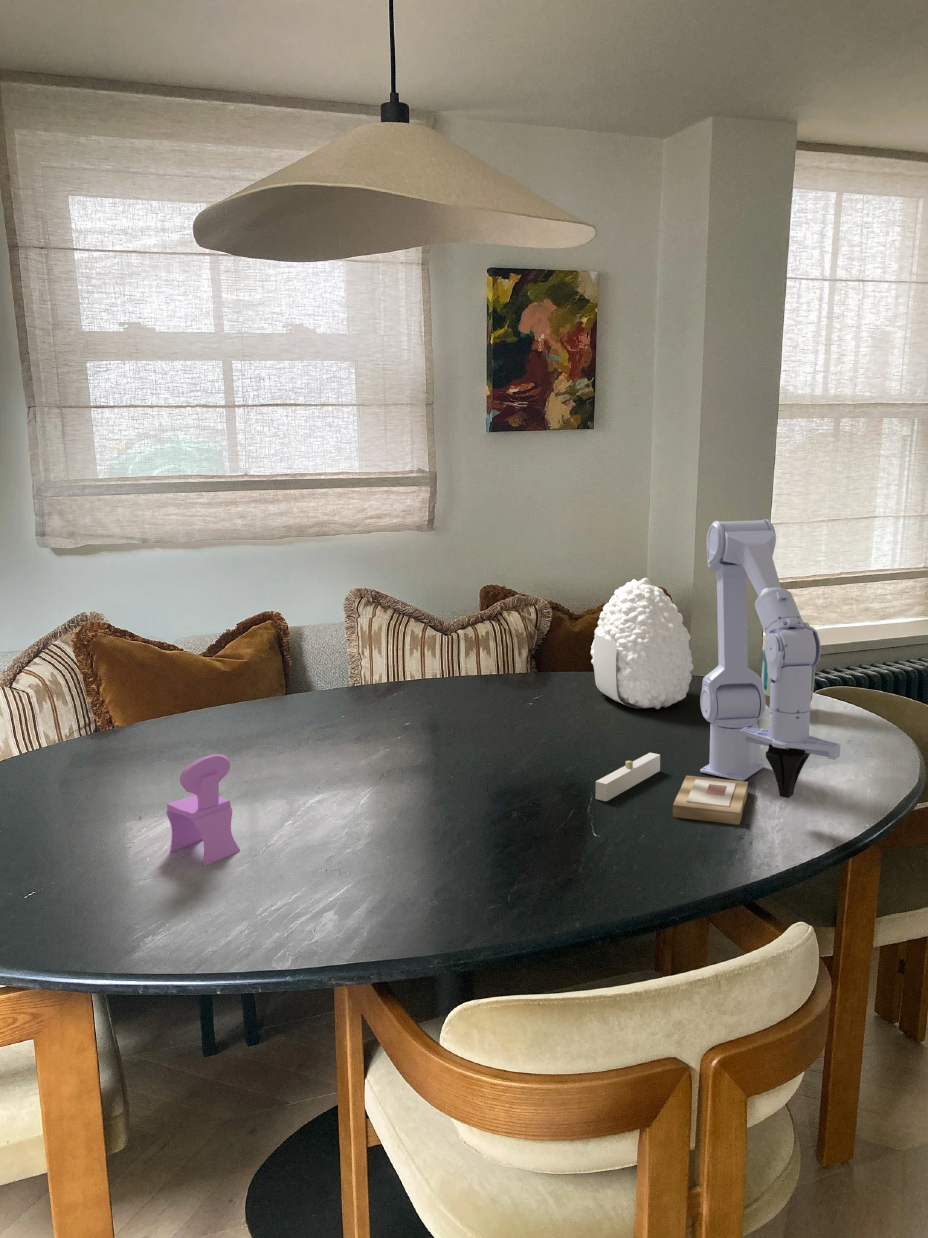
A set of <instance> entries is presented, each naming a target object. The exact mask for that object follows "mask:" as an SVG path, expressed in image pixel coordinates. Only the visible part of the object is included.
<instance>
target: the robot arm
mask: <svg viewBox="0 0 928 1238" xmlns="http://www.w3.org/2000/svg"><path fill="white" fill-rule="evenodd" d="M776 541H777V533H776V530H775V526H774V525H773V523H772V522H771V520H769V519H767V518H766V519H761V520H760V519H759V520H756V519H755V520H732V521H731V520H729V521H726V520H725V521H721V520H714V521H713V522H712V523H711V525H710V526H709V528H708V531H707V533H706V562H707V567H708V569H709V570H712V571H714V572H715V577H716V599H717V600H716V605H717V648H718V649H717V650H718V654H717V655H718V656H717V657H718V665H717V666H716V667H715V668H714V669H712V670H711V671H710V672H709V673H708V674H706V675H705V676H704V677H703V678H702V682H701V683H702V684H701V685H702V686H701V692H700V699H699V700H700V701H699V702H700V710H701V713H702V716H703V718H704V719H705V720H706V721H707V722H709V723H710V724H709V726H710V729H709V730H710V731H709V732H710V733H709V734H710V735H709V761H708V762H709V763H708V764H707V765H705V766H703V767H702V768H700V770H699V771H700V773H703V774H708V775H712V776H718V777H722V778H726V779H728V780H734V781H743V782H745V780H747V779H748V778H750V777H751V776H753V775H755V774H756V773H757V772H759V771H760V770H762V769H763V768H764V767H765V764H764V763H761V762H760V752H761V751H760V750H761V745H762V746H768V748H767V751H765V758H766V760H767V761H768V763H769V765H770V767H771V769H772V772H773V774H774V777H775V780H776V784H777V788H778V795H779V797H781V798H786V799H790V798H791V797H792V796H793V795H794V793H795V788H796V784H797V782H798V778H799V776H800V774H801V772H802V769H803V768H804V765H805V764H806V762H807V760H808V758H809V756H811V755H815V756H820V757H827V759H830V760H834V761H835V760H837V759H839V757H840V756H841V744H840V743H837V742H833V741H830V740H829V741H828V740H826V739H822V738H820V737H816V736H812V735H810V721H811V720H810V719H811V706H812V705H811V703H812V701H811V681H812V667H811V666H815V667H816V666H817V665H818V663H819V661H820V658H821V654H822V652H821V651H822V647H821V640H820V637H819V634H818V631H817V630H816V629H815V627H813V626H810V624H809V622H805V621H803V618H802V615H801V613H800V611H799V609H798V606H797V603H796V601H795V599H794V597H793V595H792V593H791V591H789V590H788V589H786V588H782V587H781V582H780V579H779V576H778V572H777V569H776V565H775V561H774V559H773V556H774V552H775V548H776V543H777V542H776ZM747 577H748V578H749V581H750V583H751V584H752V586H753V589H754V590H755V592H756V594H757V596H758V597H756V599H755V602H754V609H755V611H756V615H757V616H758V619H759V622H760V624H761V628H762V630H763V632H764V635H765V637H766V639H765V644H764V648H765V656H766V660H767V672H768V677H770V678H771V684H770V708H769V713H768V714H769V716H768V729H766V728H760V727H759V725H758V720H760V719H761V718H762V717H763V715H764V714H765V712H766V707H767V706H766V701H765V695H764V692H763V685H762V679H761V675H759V674H757V672H755V671H753V670H752V669H751V668H749V660H748V659H749V658H748V657H749V656H748V655H749V654H748V651H749V650H748V608H747V607H748V600H747V598H748V597H747V595H748V594H747Z"/></svg>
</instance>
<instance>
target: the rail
mask: <svg viewBox="0 0 928 1238" xmlns="http://www.w3.org/2000/svg"><path fill="white" fill-rule="evenodd" d="M660 771H661V754H658V753H656V752H655V753H653V752H648V753H647V754H645V755H641V757H639V758H636V759H635V760H633V761H632V760H626V761H625V765H624V766H621V767H620V768H618V769H616V770H614V771H613V772H611V773H609V774H607V775H605V776H603V777H601V778H600V779H597V780H596V781H595V799H596V800H599V801H603V802H608V801H611V800H612V799H613V798H615V797H617V796H619V795H620V794H622V793H624V792H626V791H627V790H629V789H631V788H632V787H635V786H636V785H637V784H640V783H641V782H643V781H644V780H647V779H648V778H651V777H652V776H653V775H655V774H657V773H658V772H660Z"/></svg>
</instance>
